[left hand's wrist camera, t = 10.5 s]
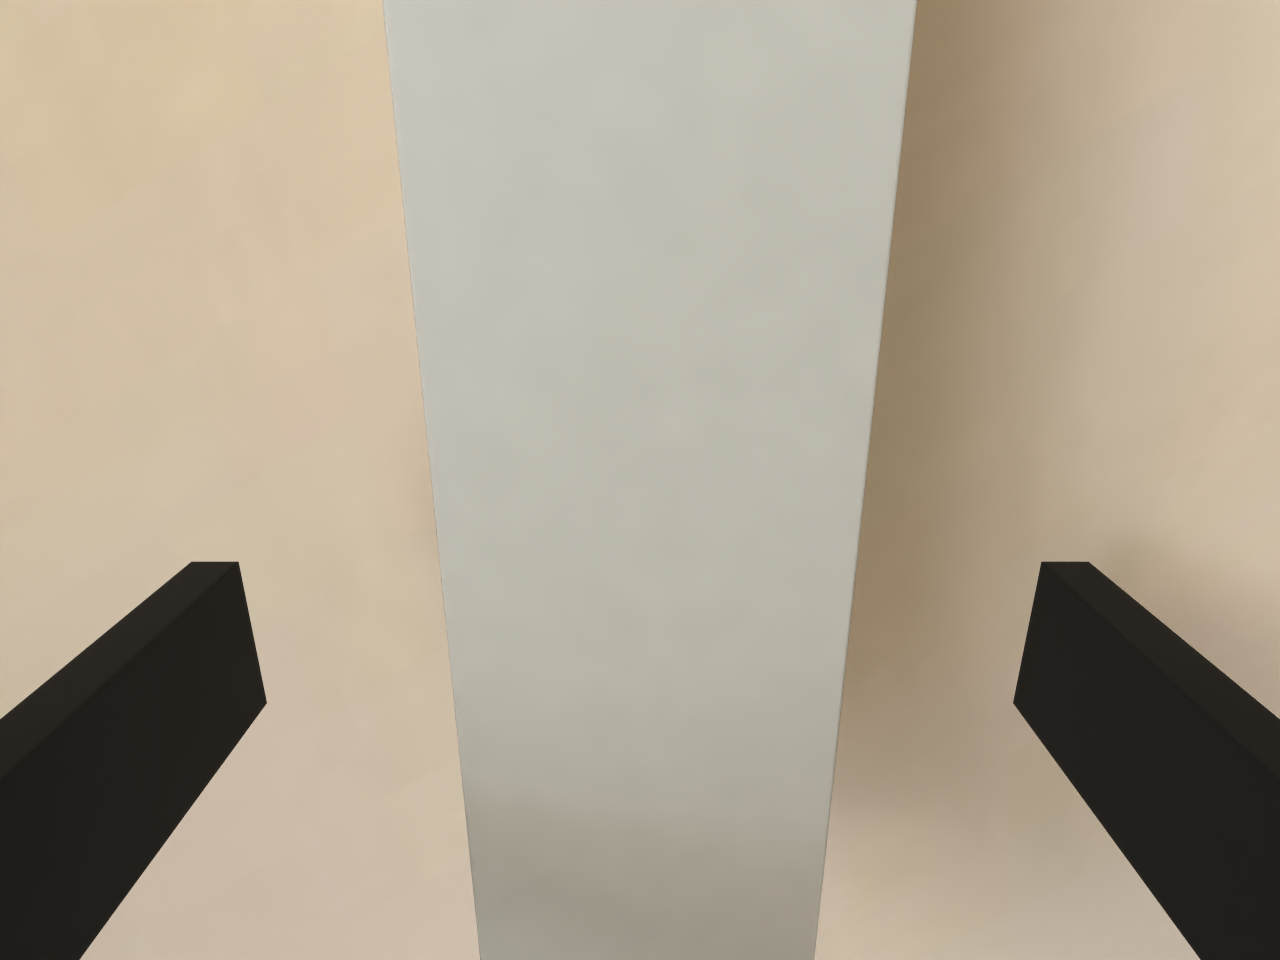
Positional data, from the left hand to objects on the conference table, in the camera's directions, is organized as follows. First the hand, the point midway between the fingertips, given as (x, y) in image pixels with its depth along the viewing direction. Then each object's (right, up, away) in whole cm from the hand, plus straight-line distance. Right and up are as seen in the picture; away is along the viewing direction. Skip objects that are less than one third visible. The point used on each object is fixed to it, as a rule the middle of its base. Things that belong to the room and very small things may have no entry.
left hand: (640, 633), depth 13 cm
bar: (0, +32, -6) cm, 32 cm away
